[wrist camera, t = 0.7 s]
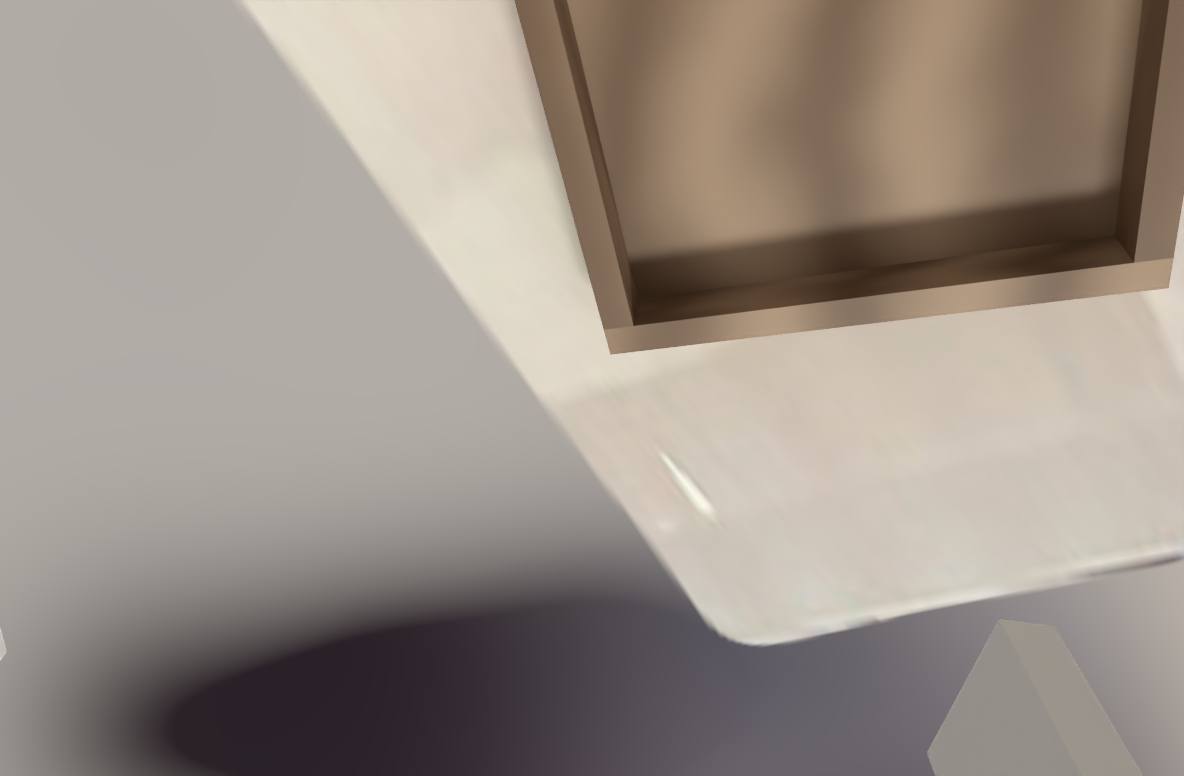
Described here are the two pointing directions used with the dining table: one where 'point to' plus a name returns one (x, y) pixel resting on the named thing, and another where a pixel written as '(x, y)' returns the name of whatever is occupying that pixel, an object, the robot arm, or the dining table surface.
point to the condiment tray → (859, 156)
